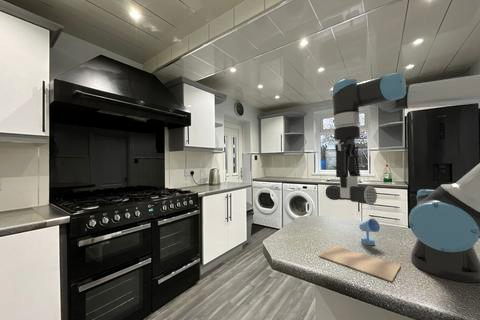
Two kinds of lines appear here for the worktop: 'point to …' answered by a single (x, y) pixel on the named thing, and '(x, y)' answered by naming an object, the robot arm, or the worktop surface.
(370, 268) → the mat
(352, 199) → the flashlight
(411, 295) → the worktop surface
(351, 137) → the robot arm
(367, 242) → the spotlight
